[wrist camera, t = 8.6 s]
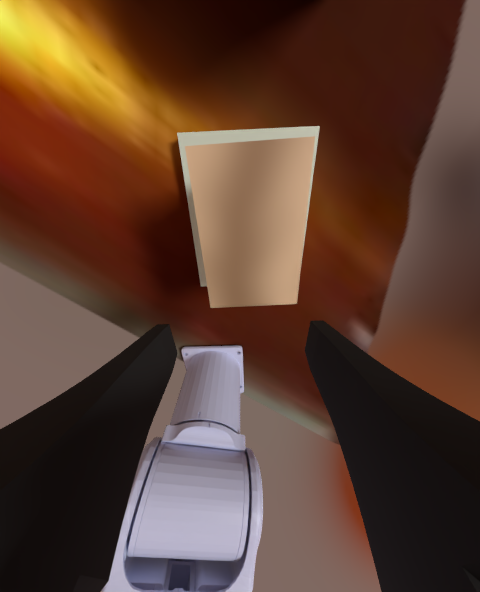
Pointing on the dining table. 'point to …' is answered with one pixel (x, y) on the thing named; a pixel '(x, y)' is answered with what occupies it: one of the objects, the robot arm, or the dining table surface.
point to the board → (231, 137)
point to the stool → (251, 217)
